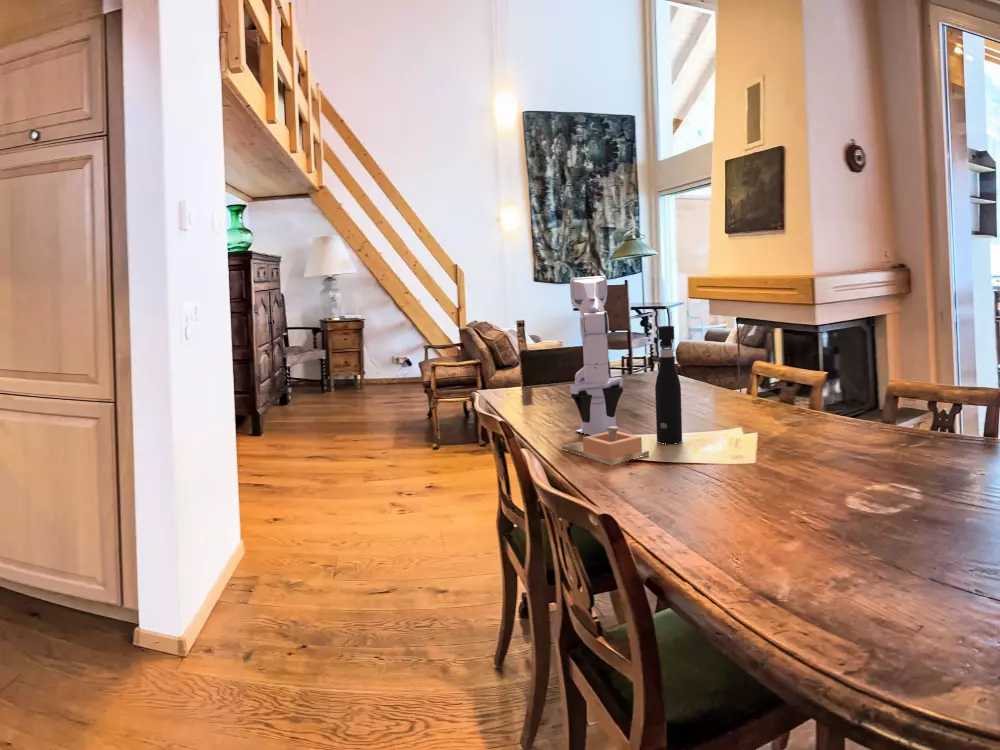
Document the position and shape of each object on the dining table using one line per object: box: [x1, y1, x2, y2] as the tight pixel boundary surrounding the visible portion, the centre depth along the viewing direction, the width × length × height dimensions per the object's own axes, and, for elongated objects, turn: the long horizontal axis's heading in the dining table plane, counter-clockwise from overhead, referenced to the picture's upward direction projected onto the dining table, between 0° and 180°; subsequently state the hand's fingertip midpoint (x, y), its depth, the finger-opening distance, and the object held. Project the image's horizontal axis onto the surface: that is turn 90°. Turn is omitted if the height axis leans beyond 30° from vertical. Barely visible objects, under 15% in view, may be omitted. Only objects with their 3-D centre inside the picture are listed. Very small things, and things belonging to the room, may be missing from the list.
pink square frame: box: [582, 430, 643, 459], centre depth 155 cm, size 10×10×4 cm
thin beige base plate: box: [561, 426, 650, 466], centre depth 158 cm, size 12×19×7 cm, turn 30°
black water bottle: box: [654, 325, 683, 445], centre depth 163 cm, size 6×6×30 cm
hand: (598, 419), depth 152 cm, fingers open, 7 cm apart
